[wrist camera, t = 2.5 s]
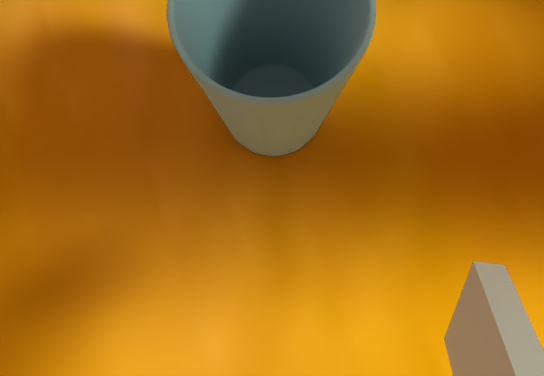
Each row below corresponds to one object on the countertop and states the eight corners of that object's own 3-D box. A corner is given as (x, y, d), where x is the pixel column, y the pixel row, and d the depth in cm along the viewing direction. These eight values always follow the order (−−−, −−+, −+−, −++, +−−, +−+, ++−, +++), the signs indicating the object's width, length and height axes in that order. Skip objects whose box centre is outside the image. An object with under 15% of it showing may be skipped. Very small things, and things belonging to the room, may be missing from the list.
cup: (302, 201, 28) (316, 140, 17) (180, 138, 29) (126, 44, 18) (363, 86, 29) (409, -33, 19) (246, 29, 30) (229, -113, 20)
